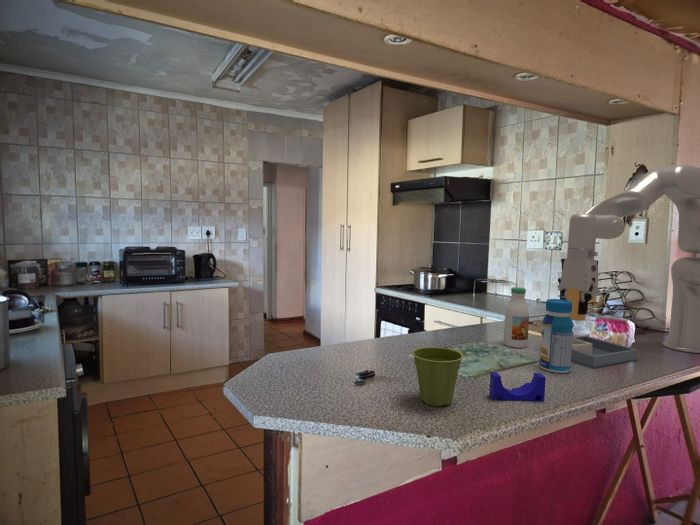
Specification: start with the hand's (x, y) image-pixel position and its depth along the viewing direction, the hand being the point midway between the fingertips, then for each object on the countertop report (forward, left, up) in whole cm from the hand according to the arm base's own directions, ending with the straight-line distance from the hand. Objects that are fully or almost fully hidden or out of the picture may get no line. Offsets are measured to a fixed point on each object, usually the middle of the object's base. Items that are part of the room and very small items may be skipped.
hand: (575, 312), depth 137 cm
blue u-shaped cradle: (+42, +18, -15) cm, 48 cm away
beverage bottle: (+15, +6, -15) cm, 22 cm away
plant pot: (+61, +12, -15) cm, 64 cm away
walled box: (-6, +1, -14) cm, 16 cm away
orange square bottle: (0, 0, -2) cm, 2 cm away
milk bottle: (+7, -17, -15) cm, 24 cm away
